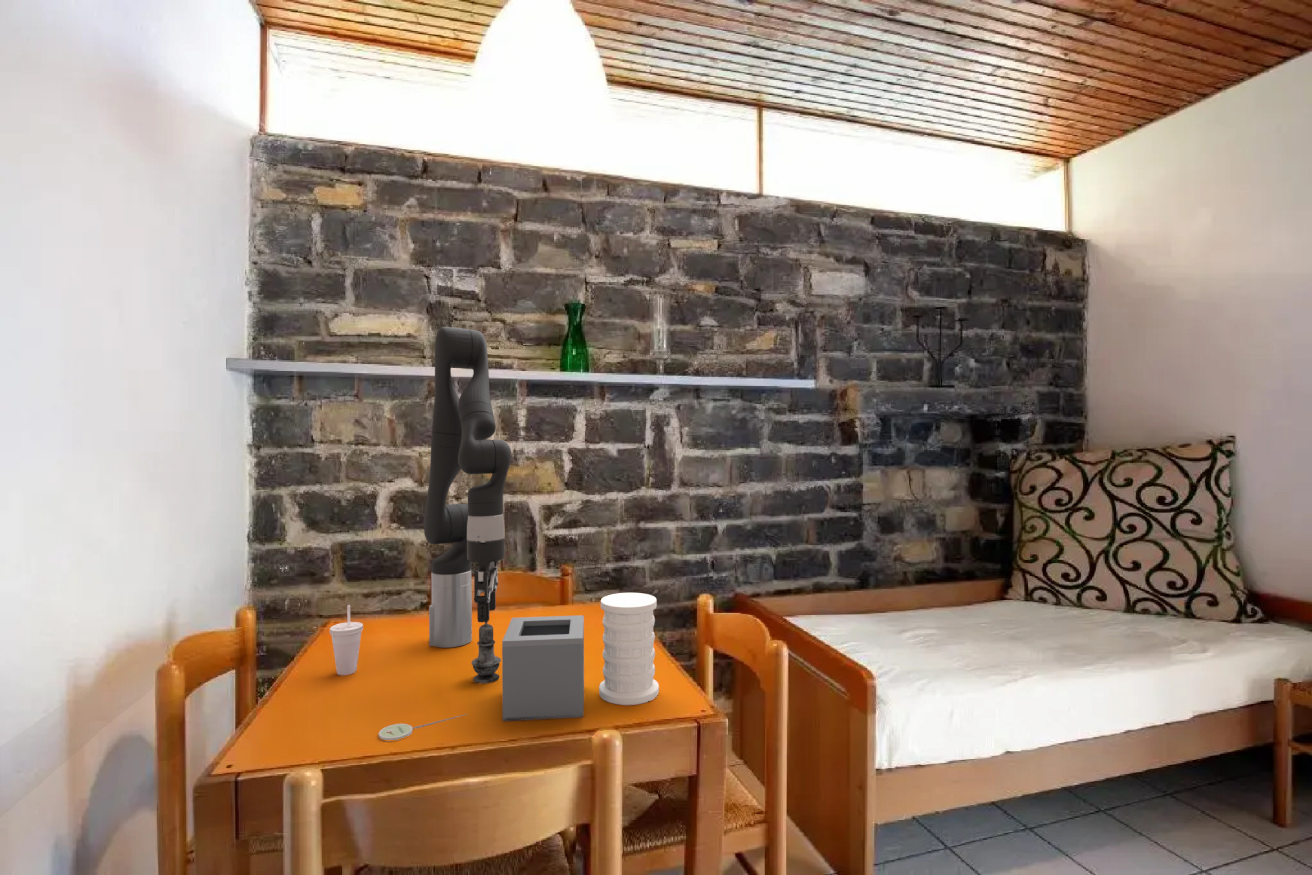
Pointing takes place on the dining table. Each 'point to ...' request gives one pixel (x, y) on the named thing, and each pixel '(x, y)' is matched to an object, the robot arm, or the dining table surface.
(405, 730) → the sign
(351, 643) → the smoothie
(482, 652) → the salt shaker
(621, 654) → the decorative container
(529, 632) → the box
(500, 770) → the dining table surface
